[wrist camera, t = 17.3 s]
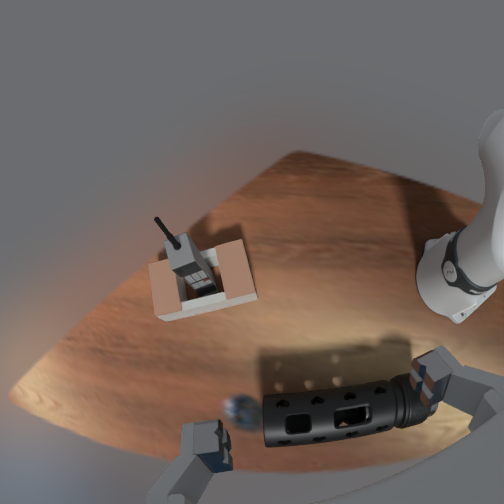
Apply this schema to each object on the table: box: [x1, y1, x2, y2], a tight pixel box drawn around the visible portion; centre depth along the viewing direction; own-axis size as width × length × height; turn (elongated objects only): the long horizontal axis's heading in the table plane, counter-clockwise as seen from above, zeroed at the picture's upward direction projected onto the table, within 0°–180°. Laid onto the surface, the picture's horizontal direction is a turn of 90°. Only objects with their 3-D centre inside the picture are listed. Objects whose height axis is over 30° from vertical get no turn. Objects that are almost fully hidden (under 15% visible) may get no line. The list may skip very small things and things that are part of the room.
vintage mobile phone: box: [154, 217, 219, 298], centre depth 45 cm, size 4×5×25 cm
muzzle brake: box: [263, 373, 438, 448], centre depth 40 cm, size 10×28×10 cm, turn 93°
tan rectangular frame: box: [149, 239, 258, 322], centre depth 54 cm, size 18×10×6 cm, turn 104°
